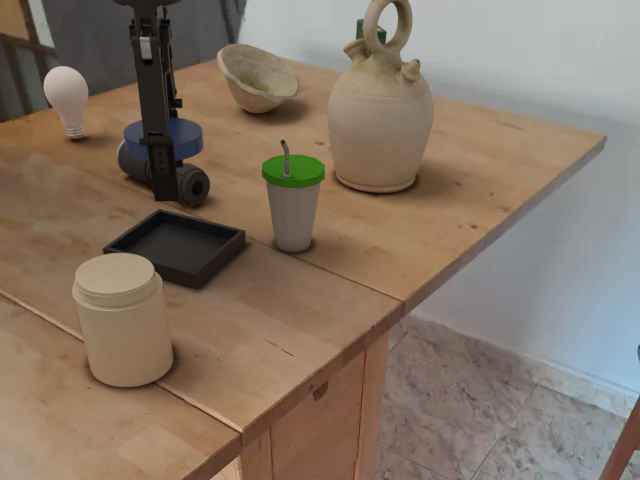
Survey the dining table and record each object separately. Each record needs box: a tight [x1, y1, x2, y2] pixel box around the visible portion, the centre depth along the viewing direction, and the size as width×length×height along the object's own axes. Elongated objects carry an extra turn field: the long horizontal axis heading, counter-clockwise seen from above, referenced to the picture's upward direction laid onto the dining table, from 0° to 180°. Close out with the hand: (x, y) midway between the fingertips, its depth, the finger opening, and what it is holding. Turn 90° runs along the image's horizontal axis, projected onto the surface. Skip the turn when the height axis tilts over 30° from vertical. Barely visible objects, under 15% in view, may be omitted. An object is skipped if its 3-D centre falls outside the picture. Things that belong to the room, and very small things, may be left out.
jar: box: [71, 253, 174, 388], centre depth 67 cm, size 8×8×10 cm
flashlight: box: [115, 139, 211, 205], centre depth 99 cm, size 15×5×5 cm, turn 48°
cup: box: [261, 139, 326, 253], centre depth 85 cm, size 8×8×15 cm
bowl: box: [216, 43, 300, 114], centre depth 123 cm, size 15×14×10 cm
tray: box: [102, 208, 247, 290], centre depth 87 cm, size 13×12×2 cm
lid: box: [123, 117, 204, 161], centre depth 78 cm, size 9×9×2 cm
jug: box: [326, 0, 434, 194], centre depth 98 cm, size 15×16×25 cm
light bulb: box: [43, 65, 89, 141], centre depth 110 cm, size 7×7×11 cm
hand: (169, 182), depth 81 cm, fingers closed on lid, 9 cm apart
